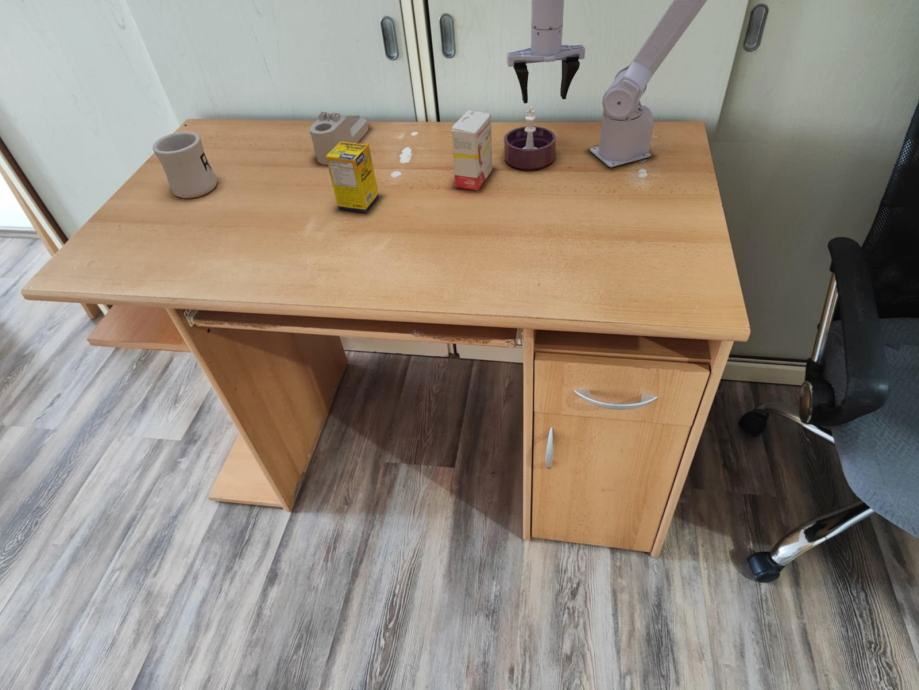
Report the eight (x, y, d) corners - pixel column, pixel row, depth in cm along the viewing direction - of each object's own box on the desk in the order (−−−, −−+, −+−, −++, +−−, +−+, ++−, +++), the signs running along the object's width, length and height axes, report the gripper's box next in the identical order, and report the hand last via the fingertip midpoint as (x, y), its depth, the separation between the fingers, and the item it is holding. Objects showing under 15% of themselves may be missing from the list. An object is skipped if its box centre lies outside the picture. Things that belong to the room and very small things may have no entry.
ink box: (477, 191, 111) (475, 132, 103) (454, 187, 113) (449, 129, 104) (493, 169, 117) (492, 111, 108) (470, 166, 118) (467, 108, 110)
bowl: (540, 142, 123) (541, 121, 120) (563, 163, 117) (565, 142, 113) (496, 153, 121) (495, 133, 118) (517, 176, 114) (517, 154, 111)
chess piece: (535, 164, 116) (536, 114, 109) (513, 158, 118) (513, 110, 111) (545, 153, 119) (548, 104, 112) (524, 148, 121) (525, 100, 114)
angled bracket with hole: (371, 126, 134) (364, 91, 128) (336, 165, 122) (328, 129, 116) (348, 125, 135) (341, 90, 129) (312, 163, 123) (303, 127, 118)
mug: (221, 192, 117) (202, 145, 110) (174, 204, 115) (152, 157, 108) (214, 165, 125) (196, 120, 118) (170, 176, 123) (149, 131, 116)
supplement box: (379, 196, 112) (369, 143, 104) (366, 213, 108) (355, 159, 101) (351, 193, 114) (340, 140, 106) (337, 209, 110) (324, 156, 102)
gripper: (511, 36, 103) (511, 111, 113) (591, 28, 104) (585, 103, 113) (504, 23, 108) (505, 96, 118) (582, 15, 109) (576, 89, 118)
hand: (544, 99), depth 116 cm, fingers open, 7 cm apart
